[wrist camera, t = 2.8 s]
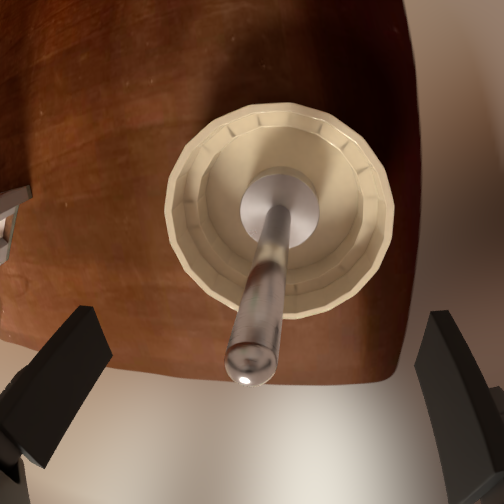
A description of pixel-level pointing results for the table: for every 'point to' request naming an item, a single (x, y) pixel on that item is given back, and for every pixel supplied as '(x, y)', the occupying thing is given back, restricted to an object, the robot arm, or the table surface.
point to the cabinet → (10, 216)
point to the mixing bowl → (237, 181)
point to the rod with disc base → (268, 268)
